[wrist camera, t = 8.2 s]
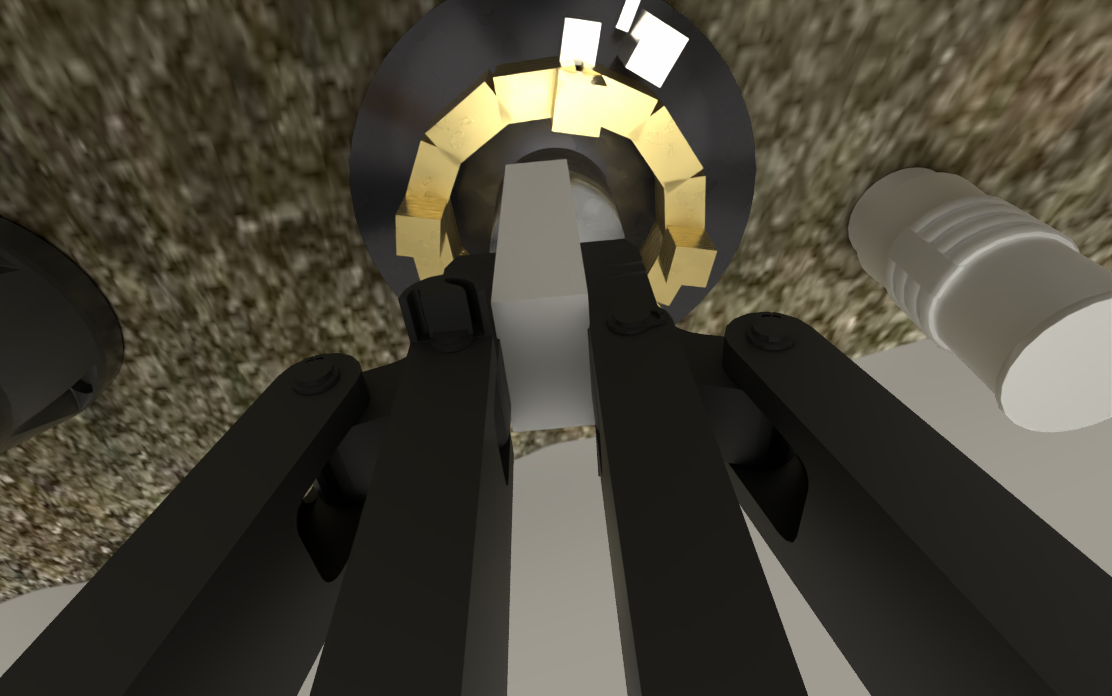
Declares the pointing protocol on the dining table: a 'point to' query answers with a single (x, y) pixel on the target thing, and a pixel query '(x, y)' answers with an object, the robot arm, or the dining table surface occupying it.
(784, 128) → the dining table surface
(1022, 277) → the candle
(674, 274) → the ring nut
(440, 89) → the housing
